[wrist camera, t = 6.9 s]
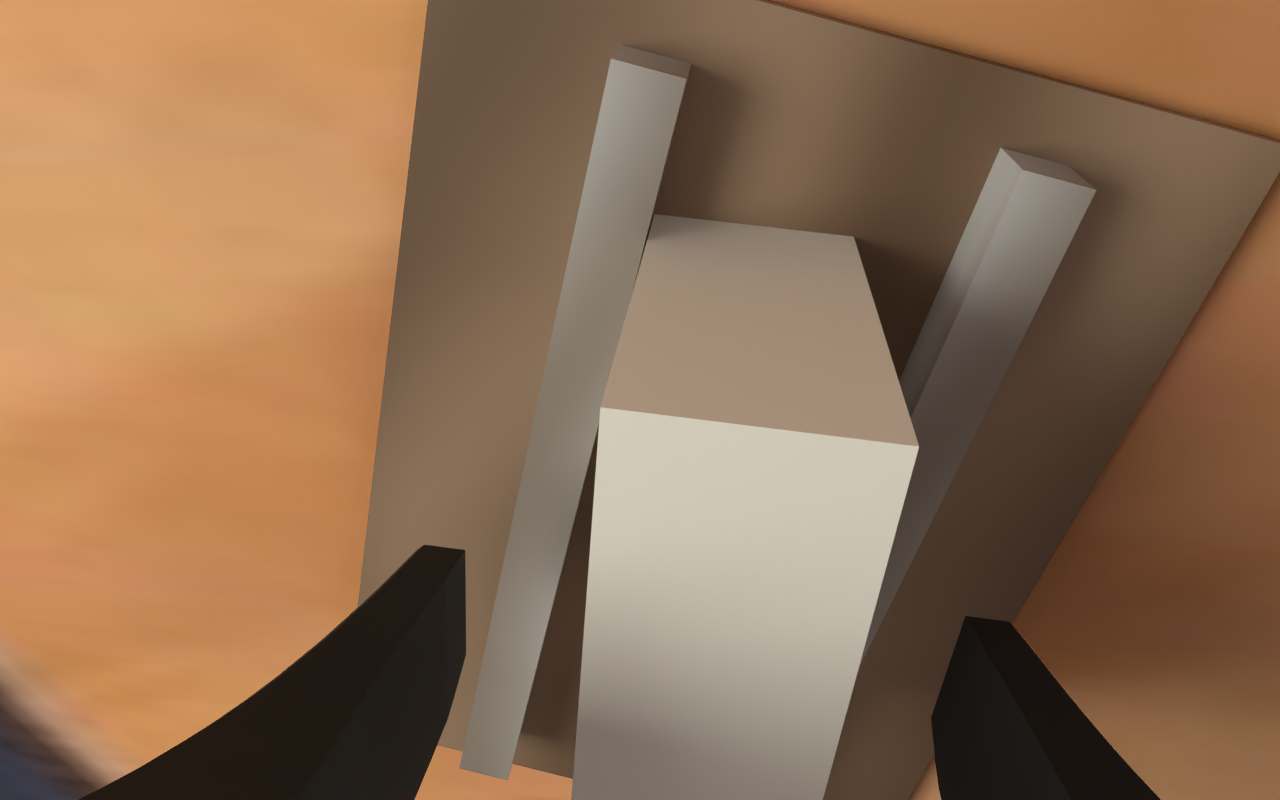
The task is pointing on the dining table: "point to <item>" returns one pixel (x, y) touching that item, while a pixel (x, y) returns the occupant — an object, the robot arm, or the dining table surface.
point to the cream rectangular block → (737, 516)
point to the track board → (789, 199)
